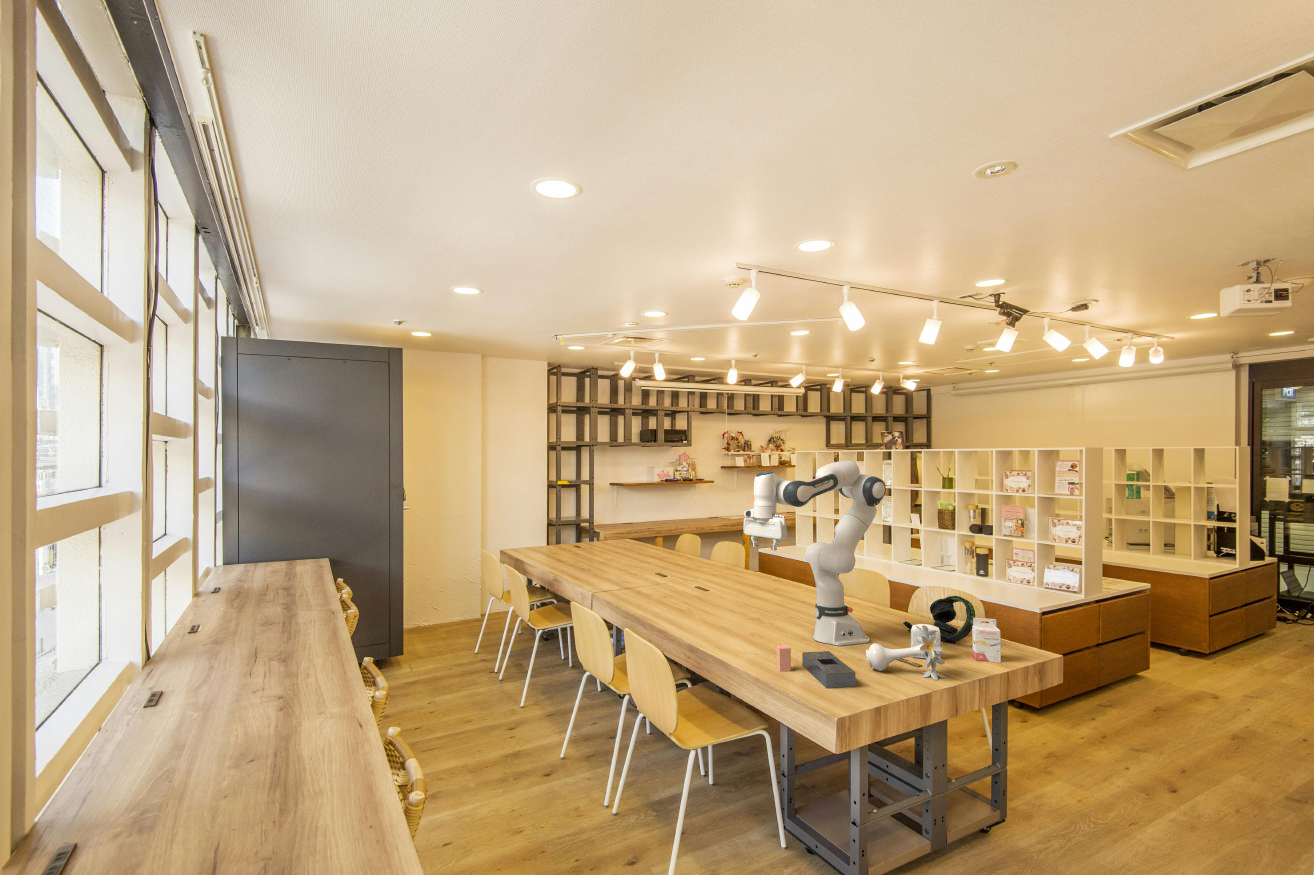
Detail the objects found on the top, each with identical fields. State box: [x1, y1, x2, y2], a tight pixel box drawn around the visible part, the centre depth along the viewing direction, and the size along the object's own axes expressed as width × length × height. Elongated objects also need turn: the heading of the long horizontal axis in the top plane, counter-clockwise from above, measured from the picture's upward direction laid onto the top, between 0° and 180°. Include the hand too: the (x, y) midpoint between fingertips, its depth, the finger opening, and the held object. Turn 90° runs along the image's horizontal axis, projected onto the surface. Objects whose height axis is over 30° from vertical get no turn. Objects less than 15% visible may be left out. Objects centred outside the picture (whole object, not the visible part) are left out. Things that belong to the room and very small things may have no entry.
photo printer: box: [910, 623, 942, 660], centre depth 231 cm, size 10×4×12 cm, turn 73°
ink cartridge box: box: [971, 617, 1002, 663], centre depth 228 cm, size 9×5×15 cm, turn 76°
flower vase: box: [865, 625, 946, 681], centre depth 215 cm, size 13×18×25 cm
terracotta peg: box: [775, 644, 792, 673], centre depth 218 cm, size 4×4×8 cm
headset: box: [902, 595, 976, 643], centre depth 254 cm, size 18×14×29 cm
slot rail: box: [801, 650, 857, 689], centre depth 212 cm, size 10×22×5 cm, turn 7°
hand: (764, 548), depth 241 cm, fingers open, 8 cm apart
